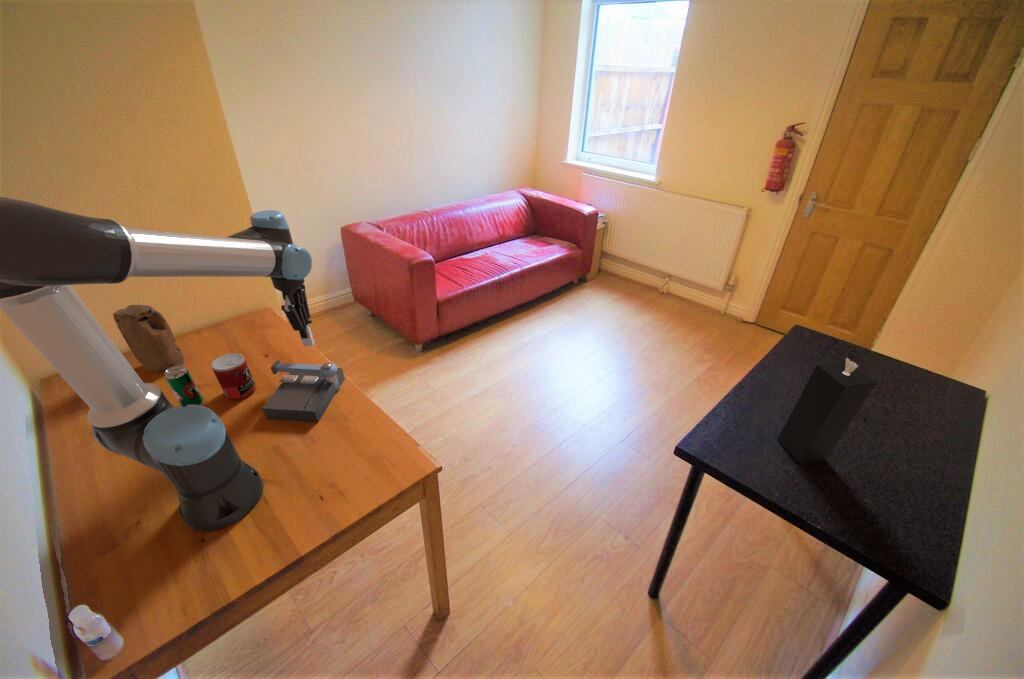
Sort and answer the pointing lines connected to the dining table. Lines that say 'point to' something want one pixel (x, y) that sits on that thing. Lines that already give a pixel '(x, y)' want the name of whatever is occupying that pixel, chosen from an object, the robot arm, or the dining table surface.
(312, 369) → the swing bar
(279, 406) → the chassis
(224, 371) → the canned food
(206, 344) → the dining table surface
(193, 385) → the soda can
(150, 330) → the brown rough lump
